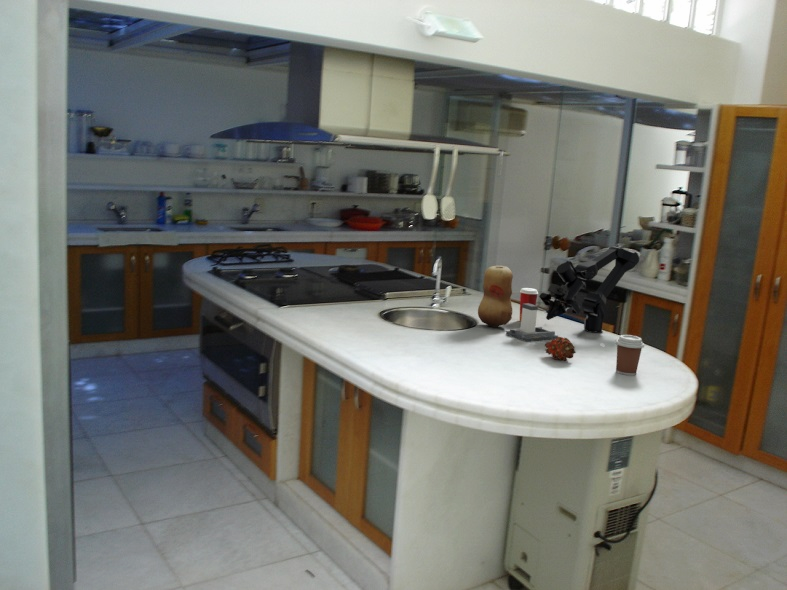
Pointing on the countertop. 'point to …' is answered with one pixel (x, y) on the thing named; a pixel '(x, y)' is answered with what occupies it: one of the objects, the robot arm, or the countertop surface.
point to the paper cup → (527, 297)
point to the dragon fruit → (560, 348)
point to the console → (533, 334)
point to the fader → (528, 318)
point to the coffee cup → (628, 354)
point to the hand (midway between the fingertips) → (547, 319)
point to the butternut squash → (496, 296)
